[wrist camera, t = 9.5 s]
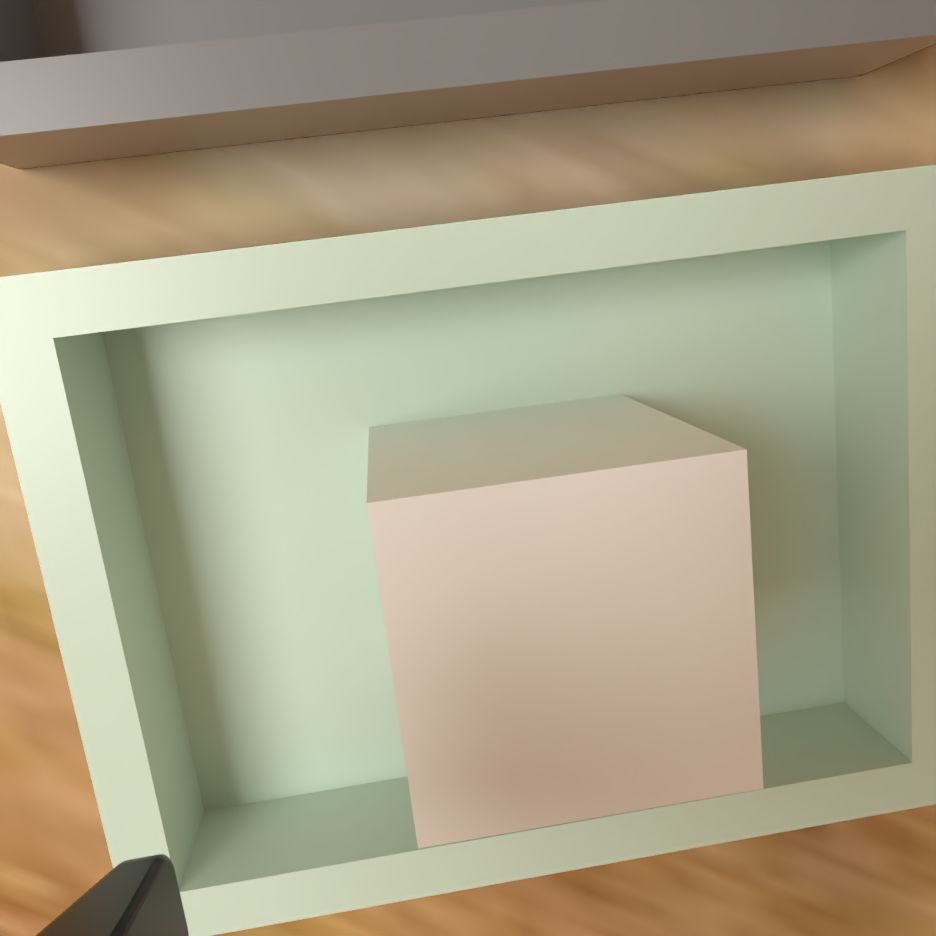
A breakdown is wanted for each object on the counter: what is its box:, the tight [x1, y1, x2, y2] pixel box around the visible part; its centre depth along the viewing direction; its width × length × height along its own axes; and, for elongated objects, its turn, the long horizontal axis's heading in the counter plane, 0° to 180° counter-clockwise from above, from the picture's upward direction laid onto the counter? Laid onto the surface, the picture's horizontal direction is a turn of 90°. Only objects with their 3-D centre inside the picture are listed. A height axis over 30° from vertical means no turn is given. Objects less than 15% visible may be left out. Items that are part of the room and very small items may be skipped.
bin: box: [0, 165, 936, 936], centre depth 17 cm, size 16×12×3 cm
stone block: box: [367, 394, 764, 848], centre depth 15 cm, size 5×5×6 cm
